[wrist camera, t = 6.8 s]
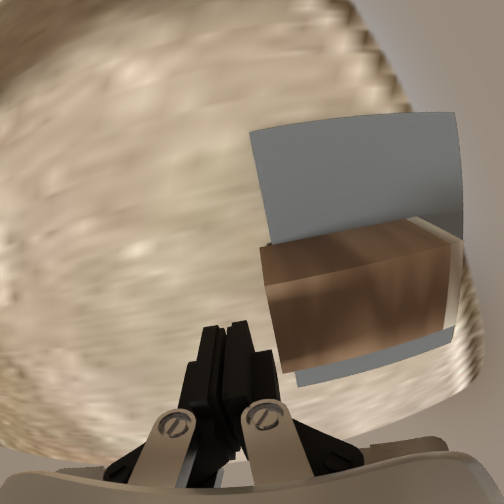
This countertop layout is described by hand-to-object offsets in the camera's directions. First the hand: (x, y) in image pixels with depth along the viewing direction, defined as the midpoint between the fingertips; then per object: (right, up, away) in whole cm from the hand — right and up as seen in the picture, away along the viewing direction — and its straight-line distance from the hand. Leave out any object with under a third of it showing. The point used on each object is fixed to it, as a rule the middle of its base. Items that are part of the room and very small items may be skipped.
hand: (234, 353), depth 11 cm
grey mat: (+8, +4, +5) cm, 10 cm away
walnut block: (+2, +1, +3) cm, 3 cm away
